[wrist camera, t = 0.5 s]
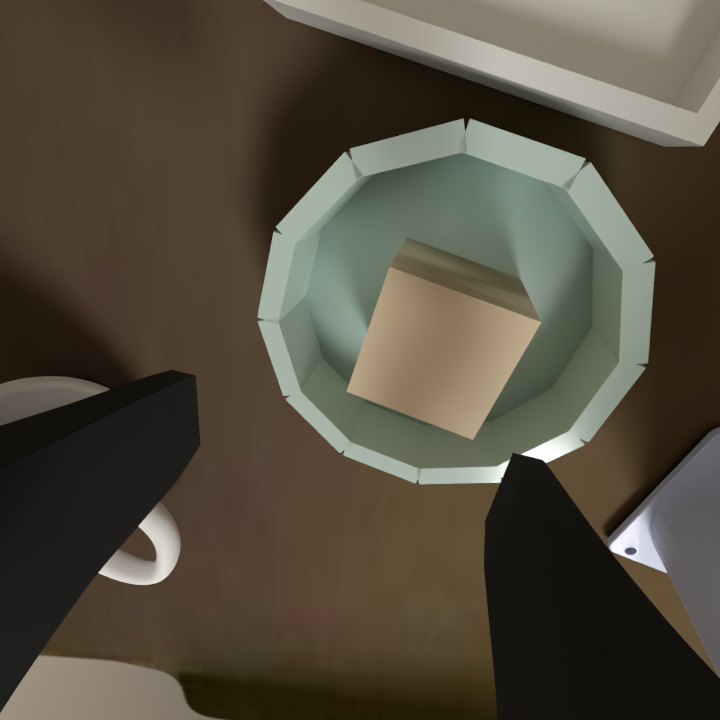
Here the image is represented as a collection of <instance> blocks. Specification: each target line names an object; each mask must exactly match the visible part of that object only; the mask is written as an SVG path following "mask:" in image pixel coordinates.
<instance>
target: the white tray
mask: <svg viewBox="0 0 720 720" xmlns="http://www.w3.org/2000/svg"><path fill="white" fill-rule="evenodd" d="M264 1H265V2H267V3H268V4H269V5H270V6H272V7H273V8H274V9H276V10H277V11H278V12H280V13H281V14H282V15H283V16H285V17H286V18H288V19H291V20H294V21H297V22H300V23H303V24H306V25H309V26H312V27H315V28H318V29H321V30H324V31H327V32H329V33H332V34H335V35H338V36H341V37H344V38H347V39H350V40H353V41H356V42H359V43H362V44H365V45H368V46H371V47H373V48H376V49H379V50H382V51H385V52H388V53H391V54H394V55H397V56H400V57H403V58H406V59H409V60H412V61H414V62H417V63H420V64H423V65H426V66H429V67H432V68H435V69H438V70H441V71H444V72H447V73H450V74H453V75H456V76H458V77H461V78H464V79H467V80H470V81H473V82H476V83H479V84H482V85H485V86H488V87H491V88H494V89H497V90H499V91H502V92H505V93H508V94H511V95H514V96H517V97H520V98H523V99H526V100H529V101H532V102H535V103H538V104H541V105H543V106H546V107H549V108H552V109H555V110H558V111H561V112H564V113H567V114H570V115H573V116H576V117H579V118H582V119H584V120H587V121H590V122H593V123H596V124H599V125H602V126H605V127H608V128H611V129H614V130H617V131H620V132H623V133H626V134H628V135H631V136H634V137H637V138H640V139H643V140H646V141H649V142H652V143H655V144H658V145H661V146H664V147H679V146H704V145H705V143H706V142H707V140H708V139H709V137H710V135H711V134H712V132H713V131H714V129H715V128H716V126H717V125H718V123H719V122H720V0H264Z"/></svg>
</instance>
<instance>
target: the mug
mask: <svg viewBox="0 0 720 720" xmlns="http://www.w3.org/2000/svg"><path fill="white" fill-rule="evenodd" d="M108 390H110V389H109V388H107V387H105V386H102V385H100V384H97V383H94V382H90V381H87V380H82V379H78V378H71V377H61V376H40V377H29V378H23V379H18V380H13V381H9V382H6V383H2V384H0V425H4V424H7V423H10V422H13V421H17V420H20V419H23V418H26V417H29V416H32V415H36V414H39V413H42V412H45V411H48V410H51V409H55V408H58V407H61V406H64V405H67V404H70V403H73V402H76V401H79V400H82V399H84V398H87V397H90V396H93V395H96V394H99V393H102V392H105V391H108ZM139 527H140V528H141V529H142V530H143V531H144V532H145V533H146V534H147V535H148V536H149V538H150V539H151V541H152V542H153V544H154V546H155V549H156V552H157V560H156V561H146V560H142V559H140V558H137V557H135V556H133V555H130V554H128V553H126V552H124V551H122V550H120V549H118V550H117V551H116V552H115V554H114V555H113V556H112V557H111V558H110V559H109V560H108V562H107V563H106V564H105V565H104V566H103V568H102V569H101V570H100V571H99V573H100V574H102V575H104V576H107V577H109V578H112V579H115V580H118V581H122V582H126V583H130V584H137V585H149V584H154V583H157V582H160V581H162V580H163V579H165V578H166V577H167V576H168V575H169V574H170V573H171V571H172V570H173V568H174V567H175V565H176V562H177V560H178V557H179V553H180V534H179V531H178V528H177V525H176V523H175V521H174V519H173V518H172V516H171V514H170V513H169V512H168V510H167V509H166V508H165V507H164V506H163V504H162V503H161V502H160V501H159V503H158V504H157V505H156V506H155V507H154V508H153V510H152V511H151V512H150V513H149V514H148V515H147V517H146V518H145V519H144V520H143V521H142V522H141V523H140V525H139Z"/></svg>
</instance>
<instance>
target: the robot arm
mask: <svg viewBox="0 0 720 720" xmlns="http://www.w3.org/2000/svg"><path fill="white" fill-rule="evenodd" d="M199 446H200V433H199V419H198V404H197V390H196V376H195V375H191V374H187V373H183V372H178V371H174V370H169V371H165V372H162V373H158V374H155V375H152V376H148V377H145V378H142V379H139V380H136V381H133V382H131V383H128V384H125V385H122V386H119V387H116V388H113V389H110V390H108V391H105V392H102V393H99V394H96V395H93V396H90V397H87V398H84V399H82V400H79V401H76V402H73V403H70V404H67V405H64V406H61V407H58V408H55V409H51V410H48V411H45V412H42V413H39V414H36V415H32V416H29V417H26V418H23V419H20V420H17V421H13V422H10V423H7V424H4V425H0V712H1V711H2V709H3V707H4V706H5V705H6V703H7V702H8V700H9V698H10V697H11V695H12V694H13V692H14V691H15V689H16V688H17V686H18V685H19V683H20V682H21V680H22V679H23V677H24V676H25V675H26V673H27V672H28V670H29V669H30V667H31V666H32V664H33V663H34V661H35V660H36V658H37V657H38V655H39V654H40V653H41V651H42V650H43V648H44V647H45V645H46V644H47V642H48V641H49V639H50V638H51V636H52V635H53V634H54V632H55V631H56V629H57V628H58V627H59V625H60V624H61V622H62V621H63V620H64V618H65V617H66V615H67V614H68V613H69V611H70V610H71V609H72V607H73V606H74V604H75V603H76V602H77V600H78V599H79V597H80V596H81V595H82V593H83V592H84V590H85V589H86V588H87V586H88V585H89V584H90V583H91V581H92V580H93V579H94V578H95V576H96V575H97V574H98V573H99V571H100V570H101V569H102V568H103V566H104V565H105V564H106V563H107V562H108V560H109V559H110V558H111V557H112V556H113V555H114V554H115V552H116V551H117V550H118V549H119V548H120V547H121V545H122V544H123V543H124V542H125V541H126V540H127V539H128V537H129V536H130V535H131V534H132V533H133V532H134V530H135V529H136V528H137V527H138V526H139V525H140V523H141V522H142V521H143V520H144V519H145V518H146V517H147V515H148V514H149V513H150V512H151V511H152V510H153V508H154V507H155V506H156V505H157V504H158V503H159V501H160V500H161V499H162V498H163V497H164V495H165V494H166V493H167V492H168V491H169V490H170V488H171V487H172V486H173V485H174V483H175V482H176V481H177V480H178V478H179V477H180V475H181V474H182V472H183V471H184V469H185V468H186V466H187V465H188V463H189V462H190V460H191V459H192V457H193V455H194V454H195V452H196V451H197V449H198V447H199ZM607 544H608V547H609V549H610V550H611V551H612V552H614V553H617V554H619V555H622V556H624V557H627V558H629V559H632V560H635V561H637V562H640V563H642V564H645V565H647V566H650V567H653V568H655V569H658V570H660V571H663V572H666V573H668V575H669V577H670V579H671V581H672V583H673V585H674V587H675V589H676V591H677V593H678V595H679V598H680V600H681V602H682V604H683V606H684V608H685V610H686V612H687V614H688V616H689V618H690V620H691V622H692V624H693V626H694V628H695V630H696V632H697V634H698V636H699V638H700V640H701V642H702V644H703V646H704V648H705V650H706V652H707V654H708V656H709V658H710V660H711V662H712V664H713V666H714V668H715V670H716V672H717V674H718V676H719V677H718V676H717V675H716V674H715V673H714V672H713V671H712V670H711V669H710V668H709V666H708V665H707V664H706V663H705V662H704V661H703V660H702V659H701V658H700V657H699V656H698V655H697V653H696V652H695V651H694V650H693V649H692V648H691V647H690V646H689V645H688V644H687V643H686V642H685V641H684V639H683V638H682V637H681V636H680V635H679V634H678V633H677V631H676V630H675V629H674V628H673V627H672V626H671V625H670V624H669V622H668V621H667V620H666V619H665V618H664V617H663V615H662V614H661V613H660V612H659V611H658V610H657V608H656V607H655V606H654V605H653V603H652V602H651V601H650V600H649V599H648V597H647V596H646V595H645V594H644V593H643V591H642V590H641V589H640V588H639V587H638V585H637V584H636V583H635V582H634V581H633V579H632V578H631V577H630V576H629V575H628V573H627V572H626V571H625V569H624V568H623V567H622V566H621V564H620V563H619V562H618V561H617V559H616V558H615V557H614V556H613V554H612V553H611V552H610V550H609V549H608V548H607V546H606V545H605V544H604V543H603V541H602V540H601V539H600V537H599V536H598V535H597V533H596V532H595V531H594V529H593V528H592V527H591V525H590V524H589V522H588V521H587V520H586V518H585V517H584V516H583V514H582V513H581V512H580V510H579V509H578V507H577V506H576V505H575V503H574V502H573V500H572V499H571V498H570V496H569V495H568V494H567V492H566V491H565V489H564V488H563V486H562V485H561V484H560V482H559V481H558V479H557V478H556V477H555V475H554V474H553V473H552V471H551V470H550V468H549V467H548V466H547V464H546V463H545V462H544V461H543V460H541V459H537V458H533V457H529V456H525V455H521V454H517V453H512V456H511V458H510V461H509V463H508V466H507V468H506V471H505V473H504V476H503V478H502V481H501V483H500V486H499V488H498V490H497V493H496V495H495V498H494V500H493V503H492V505H491V508H490V510H489V513H488V515H487V518H486V520H485V548H484V571H485V582H486V593H487V604H488V615H489V625H490V635H491V645H492V656H493V666H494V676H495V686H496V701H497V717H498V720H720V427H719V428H716V429H713V430H712V431H711V432H709V433H708V434H707V435H706V436H705V437H704V438H703V440H702V441H701V442H700V443H699V444H698V445H697V446H696V447H695V448H694V449H693V450H692V451H691V452H690V453H689V454H688V455H687V456H686V457H685V458H684V459H683V460H682V461H681V462H680V463H679V465H678V466H677V467H676V468H675V469H674V470H673V471H672V472H671V473H670V474H669V475H668V476H667V477H666V478H665V479H664V480H663V481H662V482H661V483H660V484H659V485H658V486H657V487H656V489H655V490H654V491H653V492H652V493H651V494H650V495H649V496H648V497H647V498H646V499H645V500H644V501H643V502H642V503H641V504H640V505H639V506H638V507H637V508H636V509H635V510H634V511H633V512H632V514H631V515H630V516H629V517H628V518H627V519H626V520H625V521H624V522H623V523H622V524H621V525H620V526H619V527H618V528H617V529H616V530H615V531H614V532H613V533H612V534H611V535H610V536H609V538H608V539H607ZM629 547H631V548H629Z"/></svg>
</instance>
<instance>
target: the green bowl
mask: <svg viewBox="0 0 720 720" xmlns="http://www.w3.org/2000/svg"><path fill="white" fill-rule="evenodd" d="M585 159H586V158H583V157H580V156H577V155H574V154H571V153H568V152H565V151H562V150H560V149H557V148H554V147H551V146H548V145H545V144H542V143H539V142H536V141H533V140H531V139H528V138H525V137H522V136H519V135H516V134H513V133H510V132H507V131H505V130H502V129H499V128H496V127H493V126H490V125H487V124H484V123H481V122H478V121H476V120H473V119H470V120H469V123H468V126H467V128H466V131H465V127H464V118H463V119H459V120H456V121H452V122H448V123H444V124H441V125H437V126H433V127H429V128H426V129H422V130H418V131H414V132H411V133H407V134H403V135H399V136H396V137H392V138H388V139H384V140H381V141H377V142H373V143H369V144H366V145H362V146H358V147H354V148H351V149H350V152H344V153H343V154H342V155H341V156H340V157H339V159H338V160H337V161H336V162H335V163H334V164H333V165H332V166H331V167H330V168H329V169H328V171H327V172H326V173H325V174H324V175H323V176H322V177H321V178H320V179H319V180H318V181H317V183H316V184H315V185H314V186H313V187H312V188H311V189H310V190H309V191H308V192H307V193H306V195H305V196H304V197H303V198H302V199H301V200H300V201H299V202H298V203H297V204H296V205H295V207H294V208H293V209H292V210H291V211H290V212H289V213H288V214H287V215H286V216H285V217H284V219H283V220H282V221H281V222H280V223H279V224H278V225H277V226H276V228H277V229H278V230H276V231H274V232H273V237H272V242H271V248H270V253H269V258H268V264H267V269H266V274H265V280H264V285H263V290H262V296H261V301H260V306H259V311H258V318H261V319H260V320H259V321H258V324H259V326H260V329H261V332H262V335H263V338H264V341H265V344H266V347H267V350H268V353H269V356H270V358H271V361H272V364H273V367H274V370H275V373H276V376H277V379H278V382H279V385H280V388H281V390H282V393H283V396H288V397H287V398H286V400H287V401H288V402H289V403H290V404H291V405H292V406H293V407H294V408H295V409H296V410H297V411H298V412H299V413H300V414H301V415H302V416H303V417H304V418H305V419H306V420H307V421H308V422H309V423H310V424H311V425H312V426H313V427H314V428H315V429H316V430H317V431H318V432H319V433H320V434H321V435H322V436H323V437H324V438H325V439H326V440H327V441H328V442H329V443H330V444H331V445H332V446H333V447H334V448H335V449H336V450H337V451H338V452H339V453H341V452H342V451H344V450H345V452H344V454H343V455H344V456H346V457H349V458H352V459H354V460H357V461H359V462H362V463H364V464H367V465H369V466H372V467H375V468H377V469H380V470H382V471H385V472H387V473H390V474H393V475H395V476H398V477H400V478H403V479H405V480H408V481H411V482H413V483H416V481H417V479H419V484H452V483H501V477H502V478H503V476H504V473H505V471H506V468H507V466H508V463H509V461H510V458H511V456H512V453H517V454H521V455H525V456H529V457H533V458H537V459H541V460H543V461H544V462H545V463H547V462H549V461H551V460H553V459H556V458H558V457H560V456H562V455H564V454H566V453H569V452H571V451H573V450H575V449H577V448H579V447H582V446H584V445H585V444H584V442H583V440H584V441H587V442H589V441H590V440H591V438H592V437H593V436H594V435H595V433H596V432H597V431H598V429H599V428H600V427H601V425H602V424H603V423H604V422H605V420H606V419H607V418H608V416H609V415H610V414H611V413H612V411H613V410H614V409H615V407H616V406H617V405H618V404H619V402H620V401H621V400H622V398H623V397H624V396H625V395H626V393H627V392H628V391H629V389H630V388H631V387H632V385H633V384H634V383H635V382H636V380H637V379H638V378H639V376H640V375H641V374H642V373H643V371H644V370H645V369H646V368H645V366H644V365H643V364H646V363H648V356H649V342H650V329H651V315H652V302H653V288H654V274H655V261H653V260H651V258H652V257H654V256H653V254H652V253H651V251H650V250H649V248H648V247H647V245H646V244H645V242H644V241H643V239H642V238H641V236H640V235H639V233H638V232H637V230H636V229H635V227H634V226H633V224H632V223H631V221H630V220H629V218H628V217H627V215H626V214H625V212H624V211H623V209H622V208H621V207H620V205H619V204H618V202H617V201H616V199H615V198H614V196H613V195H612V193H611V192H610V190H609V189H608V187H607V186H606V184H605V183H604V181H603V180H602V178H601V177H600V175H599V174H598V172H597V171H596V169H595V168H594V166H593V165H592V163H591V162H584V161H585ZM406 238H410V239H413V240H416V241H418V242H421V243H424V244H427V245H429V246H432V247H435V248H438V249H440V250H443V251H446V252H449V253H452V254H454V255H457V256H460V257H463V258H465V259H468V260H471V261H474V262H476V263H479V264H482V265H485V266H487V267H490V268H493V269H496V270H499V271H501V272H504V273H507V274H510V275H512V276H515V277H518V278H520V279H521V281H522V283H523V285H524V287H525V289H526V291H527V293H528V295H529V298H530V300H531V302H532V304H533V306H534V308H535V310H536V312H537V314H538V316H539V318H540V320H541V324H540V326H539V327H538V329H537V331H536V333H535V334H534V336H533V338H532V339H531V341H530V343H529V345H528V346H527V348H526V350H525V351H524V353H523V355H522V357H521V358H520V360H519V362H518V363H517V365H516V367H515V369H514V370H513V372H512V374H511V375H510V377H509V379H508V381H507V382H506V384H505V386H504V388H503V389H502V391H501V393H500V394H499V396H498V398H497V400H496V401H495V403H494V405H493V406H492V408H491V410H490V412H489V413H488V415H487V417H486V418H485V420H484V422H483V424H482V425H481V427H480V429H479V431H478V432H477V434H476V436H475V437H474V439H473V440H472V439H469V438H466V437H464V436H461V435H459V434H456V433H453V432H451V431H448V430H446V429H443V428H440V427H438V426H435V425H432V424H430V423H427V422H425V421H422V420H419V419H417V418H414V417H411V416H409V415H406V414H404V413H401V412H398V411H396V410H393V409H391V408H388V407H385V406H383V405H380V404H377V403H375V402H372V401H370V400H367V399H364V398H362V397H359V396H357V395H354V394H351V393H349V392H346V391H347V389H348V386H349V383H350V380H351V377H352V374H353V371H354V368H355V365H356V363H357V360H358V357H359V354H360V351H361V348H362V345H363V342H364V339H365V336H366V334H367V331H368V328H369V325H370V322H371V319H372V316H373V313H374V310H375V308H376V305H377V302H378V299H379V296H380V293H381V290H382V287H383V284H384V282H385V279H386V276H387V273H388V270H389V267H390V265H391V264H392V262H393V260H394V258H395V257H396V255H397V253H398V252H399V250H400V248H401V247H402V245H403V243H404V242H405V240H406Z"/></svg>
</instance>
